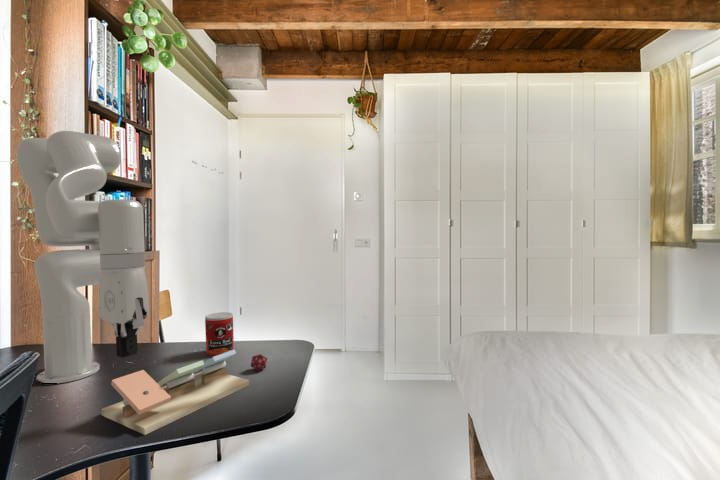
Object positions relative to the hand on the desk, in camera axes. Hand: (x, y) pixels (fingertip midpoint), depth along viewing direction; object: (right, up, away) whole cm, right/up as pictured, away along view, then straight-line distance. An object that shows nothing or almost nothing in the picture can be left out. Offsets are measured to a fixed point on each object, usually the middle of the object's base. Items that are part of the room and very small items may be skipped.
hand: (127, 354), depth 75 cm
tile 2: (+8, -7, +6) cm, 12 cm away
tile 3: (+12, -7, +13) cm, 19 cm away
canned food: (+5, -11, +37) cm, 38 cm away
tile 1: (+4, -7, -2) cm, 8 cm away
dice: (+20, -11, +22) cm, 31 cm away
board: (+8, -11, +6) cm, 15 cm away
